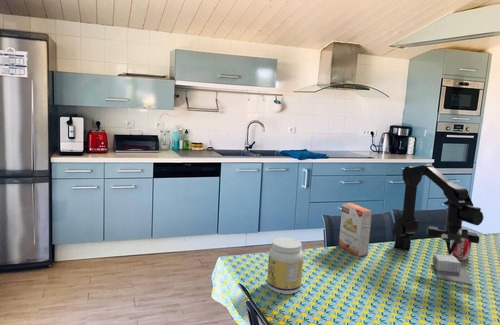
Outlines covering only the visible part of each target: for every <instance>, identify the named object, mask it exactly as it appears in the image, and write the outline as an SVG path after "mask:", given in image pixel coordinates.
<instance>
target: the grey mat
mask: <svg viewBox="0 0 500 325" xmlns="http://www.w3.org/2000/svg"><path fill="white" fill-rule="evenodd" d="M460 263H461V268H460V273H456V272H447V271H438V270H437V269H436V267H435V266H434V268H435V272H436V278H437V279H438V280H442V281H448V282H453V283H459V284H464V285H469V286H472V285H473V282H472V280H471V278H470V275H469V273H468V270H467V267H466V266H465V263H463V262H460Z"/></svg>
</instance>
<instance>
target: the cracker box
mask: <svg viewBox="0 0 500 325" xmlns="http://www.w3.org/2000/svg"><path fill="white" fill-rule="evenodd" d="M341 206H342V207H341V216H340V217H341V218H340V225H339V226H340V227H339V236H338V237H339V239H338V247H340V248H342V249H343V250H346V251H347V252H349V253H351V254H353V255H354V256H357V257H364V256H368V254H369V246H370V234H371V227H372V226H371V225H372V215H373V211H372V210H370V209H368V208H366V207H363V206H361V205H358V204H356V203H353V202H348V203H347V202H346V203H342V204H341Z"/></svg>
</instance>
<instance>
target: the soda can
mask: <svg viewBox="0 0 500 325" xmlns="http://www.w3.org/2000/svg"><path fill="white" fill-rule="evenodd" d="M471 247H472V243H471V242H469V240H468V239H464V238H463V239H462V243H458V244H457V245H456V247H455V248H454V250H453V252H452V253H451V256H455V257H456V259H457V260H458V261H459V260H460V261H465V260H468V259H470V254H471Z"/></svg>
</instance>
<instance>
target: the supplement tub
mask: <svg viewBox="0 0 500 325" xmlns="http://www.w3.org/2000/svg"><path fill="white" fill-rule="evenodd" d="M302 244H303V243H302V242H301V241H300V240H298V239H296V238H293V237H292V238H291V237H283V236H282V237H281V236H280V237H276V238H274V239H273V240H272V243H271V247H270V249H269V251H268V262H267V278H266V284H267V288H268V289H269V290H271V291H272V290H273V291H272V292H274V291H275V292H274V293H276V292H277V293H276V294H280V293H282V294H281V295H293V293H294V294H296V293H298V292H299V291H300V290H301V288H302V279H303V278H302V277H303V267H304V266H303V265H304V257H305V255H304V252H303V250H302V249H303V245H302Z"/></svg>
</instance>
